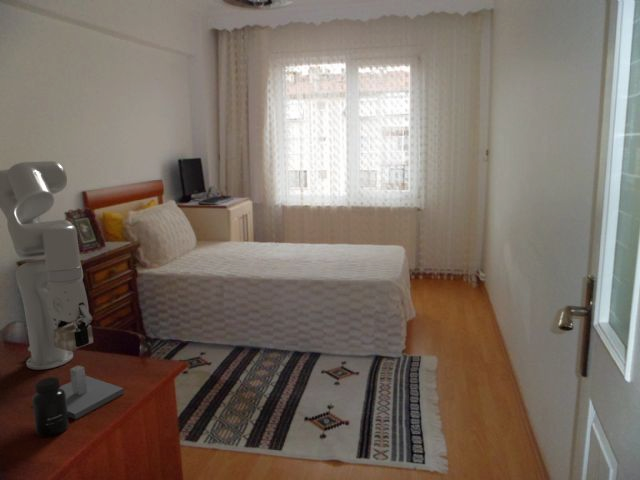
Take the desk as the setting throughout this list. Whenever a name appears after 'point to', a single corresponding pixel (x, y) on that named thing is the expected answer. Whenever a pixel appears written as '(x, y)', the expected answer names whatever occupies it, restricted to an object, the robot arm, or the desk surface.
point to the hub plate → (90, 397)
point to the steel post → (78, 380)
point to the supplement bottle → (50, 408)
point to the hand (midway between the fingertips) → (73, 342)
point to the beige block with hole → (68, 337)
